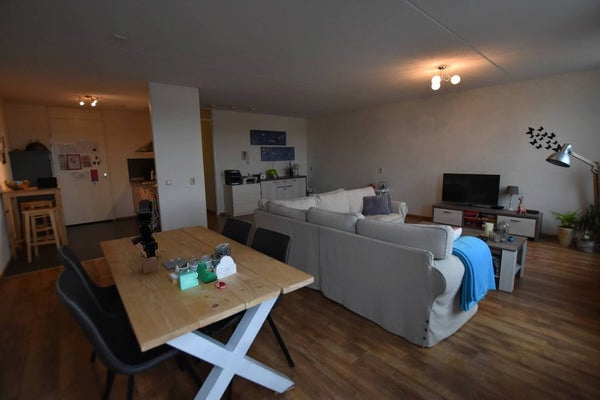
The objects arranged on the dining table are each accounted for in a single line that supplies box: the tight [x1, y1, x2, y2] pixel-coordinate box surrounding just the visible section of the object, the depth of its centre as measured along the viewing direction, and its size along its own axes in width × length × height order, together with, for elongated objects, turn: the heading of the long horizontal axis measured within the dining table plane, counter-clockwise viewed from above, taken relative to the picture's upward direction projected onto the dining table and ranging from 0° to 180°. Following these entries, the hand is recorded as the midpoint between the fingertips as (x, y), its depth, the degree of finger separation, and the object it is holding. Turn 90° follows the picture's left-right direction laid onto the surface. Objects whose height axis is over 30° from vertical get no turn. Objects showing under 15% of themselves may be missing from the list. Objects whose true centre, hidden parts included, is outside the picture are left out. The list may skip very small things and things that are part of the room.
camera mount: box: [195, 261, 218, 283], centre depth 162 cm, size 12×8×10 cm, turn 46°
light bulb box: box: [214, 242, 232, 257], centre depth 190 cm, size 11×7×11 cm, turn 168°
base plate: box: [160, 257, 189, 271], centre depth 186 cm, size 14×14×4 cm
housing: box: [140, 256, 159, 273], centre depth 178 cm, size 5×8×7 cm, turn 131°
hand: (148, 254), depth 177 cm, fingers open, 9 cm apart
